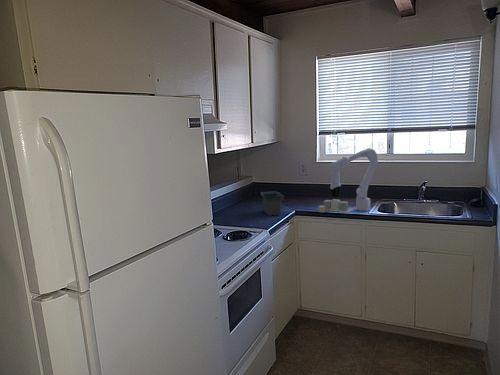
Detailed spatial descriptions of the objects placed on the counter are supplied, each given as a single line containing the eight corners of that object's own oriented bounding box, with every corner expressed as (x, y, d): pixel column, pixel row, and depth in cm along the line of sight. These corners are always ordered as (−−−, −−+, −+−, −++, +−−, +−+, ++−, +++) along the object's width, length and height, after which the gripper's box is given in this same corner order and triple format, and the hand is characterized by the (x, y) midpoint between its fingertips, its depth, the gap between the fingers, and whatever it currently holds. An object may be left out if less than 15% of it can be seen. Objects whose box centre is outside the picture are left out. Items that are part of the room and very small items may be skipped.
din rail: (352, 210, 269) (352, 201, 268) (348, 212, 263) (348, 203, 262) (324, 207, 282) (323, 198, 281) (319, 209, 276) (319, 201, 275)
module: (340, 207, 273) (340, 199, 272) (337, 209, 269) (337, 200, 268) (333, 207, 276) (333, 199, 275) (331, 208, 272) (331, 200, 271)
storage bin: (259, 210, 282) (259, 191, 279) (279, 208, 284) (279, 190, 282) (266, 217, 261) (265, 197, 258) (287, 215, 264) (287, 195, 261)
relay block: (325, 211, 271) (325, 205, 270) (324, 212, 267) (323, 207, 266) (319, 210, 272) (319, 205, 272) (318, 212, 269) (318, 206, 268)
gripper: (334, 176, 277) (334, 194, 279) (326, 179, 265) (326, 198, 267) (343, 177, 272) (343, 195, 275) (335, 180, 261) (335, 199, 263)
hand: (335, 197), depth 271 cm, fingers open, 4 cm apart
